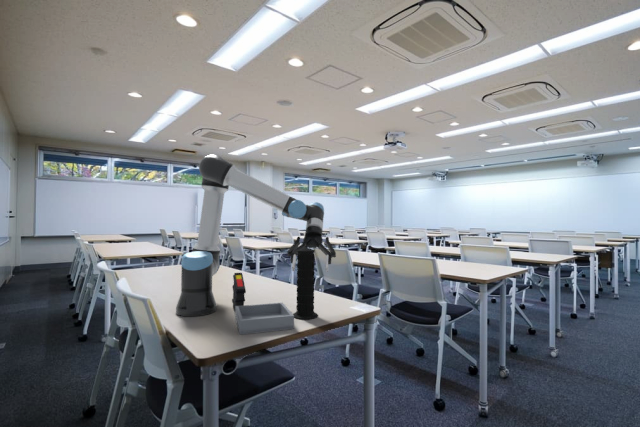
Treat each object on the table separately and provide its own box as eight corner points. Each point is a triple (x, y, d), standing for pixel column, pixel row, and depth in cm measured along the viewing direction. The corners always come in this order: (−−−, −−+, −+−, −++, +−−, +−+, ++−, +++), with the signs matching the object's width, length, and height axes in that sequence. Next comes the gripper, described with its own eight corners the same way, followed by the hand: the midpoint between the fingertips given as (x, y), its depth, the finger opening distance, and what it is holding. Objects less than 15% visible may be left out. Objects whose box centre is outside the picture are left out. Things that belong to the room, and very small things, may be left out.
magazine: (240, 300, 139) (242, 272, 133) (243, 322, 128) (246, 291, 122) (231, 301, 137) (233, 272, 132) (234, 323, 126) (236, 292, 120)
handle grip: (316, 320, 118) (319, 312, 128) (317, 249, 119) (320, 246, 129) (290, 319, 119) (294, 311, 129) (291, 248, 120) (295, 246, 130)
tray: (239, 334, 103) (240, 320, 103) (235, 318, 120) (235, 306, 120) (293, 328, 109) (294, 315, 109) (282, 313, 126) (282, 302, 126)
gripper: (342, 236, 144) (341, 275, 129) (287, 235, 146) (280, 274, 131) (341, 224, 139) (341, 264, 124) (285, 224, 141) (277, 263, 126)
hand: (309, 269), depth 127 cm, fingers open, 13 cm apart
